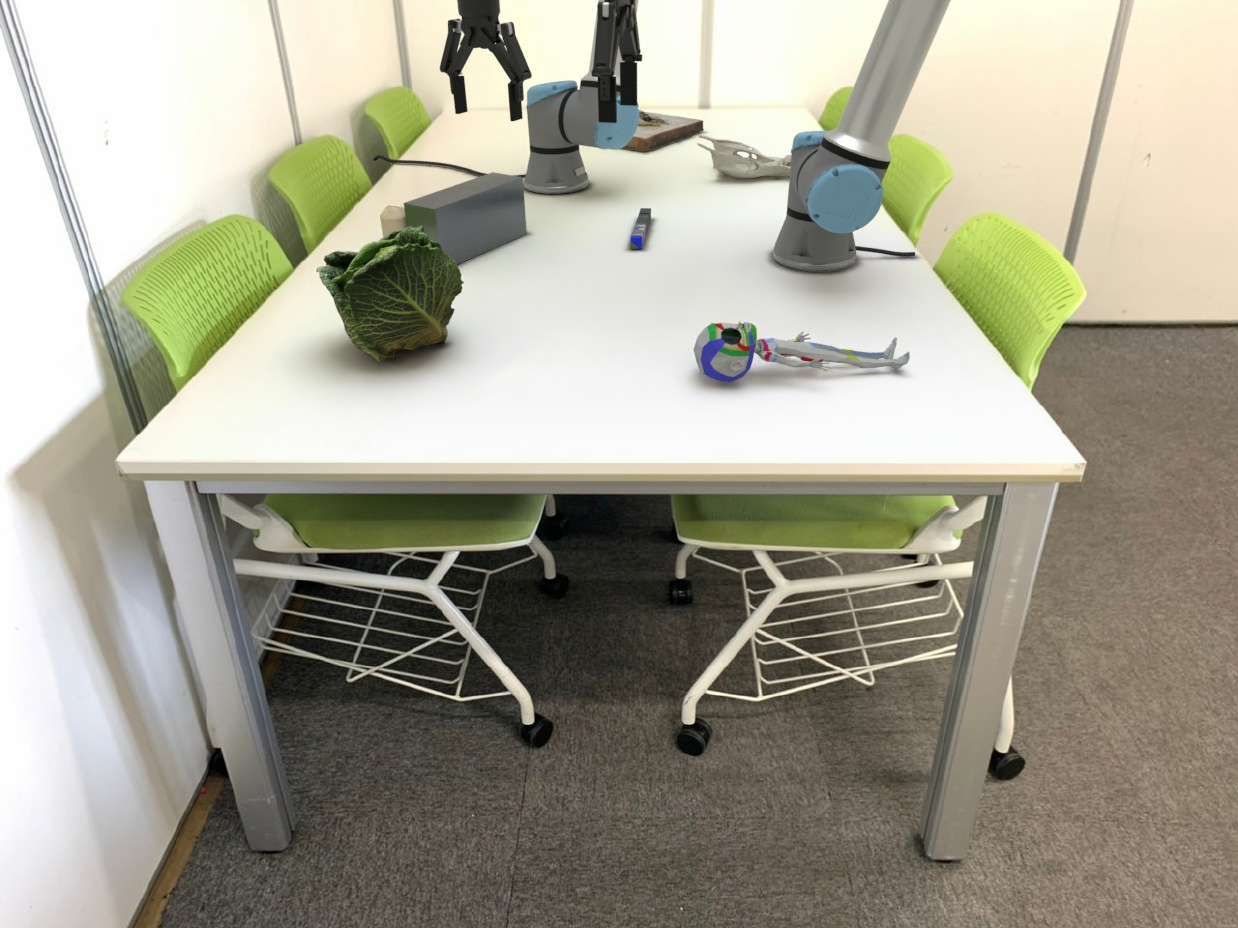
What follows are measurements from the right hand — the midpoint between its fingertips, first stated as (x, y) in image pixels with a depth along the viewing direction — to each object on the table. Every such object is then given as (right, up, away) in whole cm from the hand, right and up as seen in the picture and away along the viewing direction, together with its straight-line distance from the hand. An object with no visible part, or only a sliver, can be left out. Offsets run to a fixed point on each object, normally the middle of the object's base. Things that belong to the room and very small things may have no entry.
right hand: (618, 113), depth 143 cm
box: (-29, -13, +35) cm, 47 cm away
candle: (-42, -17, +30) cm, 54 cm away
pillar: (+5, -9, +41) cm, 42 cm away
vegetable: (-34, -38, -4) cm, 51 cm away
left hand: (-25, +10, +28) cm, 39 cm away
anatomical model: (+32, +15, +77) cm, 85 cm away
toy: (+26, -43, -14) cm, 52 cm away
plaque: (+4, +39, +116) cm, 122 cm away
